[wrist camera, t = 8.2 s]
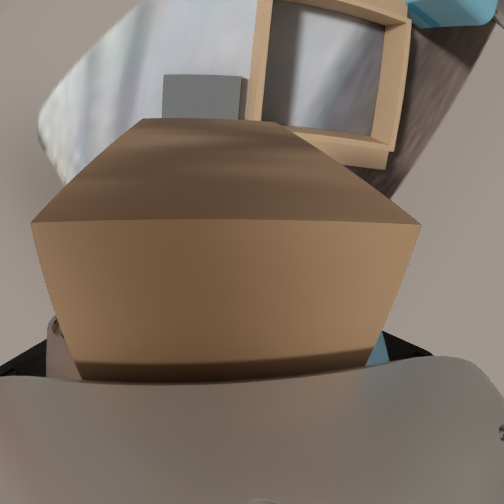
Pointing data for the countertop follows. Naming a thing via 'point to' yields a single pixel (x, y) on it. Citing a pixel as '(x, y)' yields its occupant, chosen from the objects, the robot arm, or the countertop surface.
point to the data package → (450, 12)
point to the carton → (389, 92)
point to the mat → (201, 96)
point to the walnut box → (219, 256)
